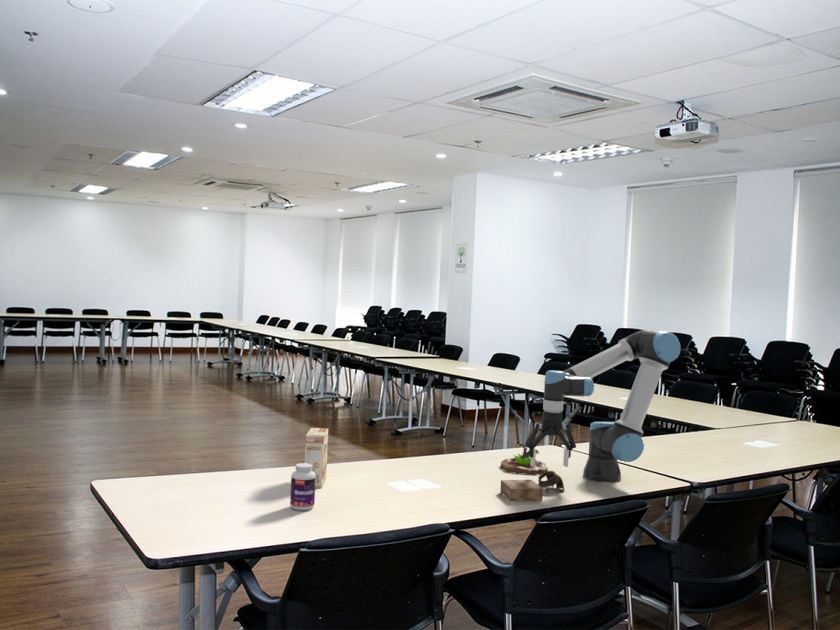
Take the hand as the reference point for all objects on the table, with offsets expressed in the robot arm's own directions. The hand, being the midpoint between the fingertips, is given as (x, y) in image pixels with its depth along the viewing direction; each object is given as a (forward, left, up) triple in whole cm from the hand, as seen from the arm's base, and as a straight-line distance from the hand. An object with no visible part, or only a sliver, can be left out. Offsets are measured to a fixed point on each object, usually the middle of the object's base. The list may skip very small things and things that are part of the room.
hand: (549, 466), depth 275 cm
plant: (-2, -31, -10) cm, 33 cm away
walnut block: (+15, +9, -9) cm, 19 cm away
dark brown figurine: (-1, 0, -9) cm, 9 cm away
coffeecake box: (+88, -16, -9) cm, 90 cm away
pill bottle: (+95, +15, -9) cm, 96 cm away
